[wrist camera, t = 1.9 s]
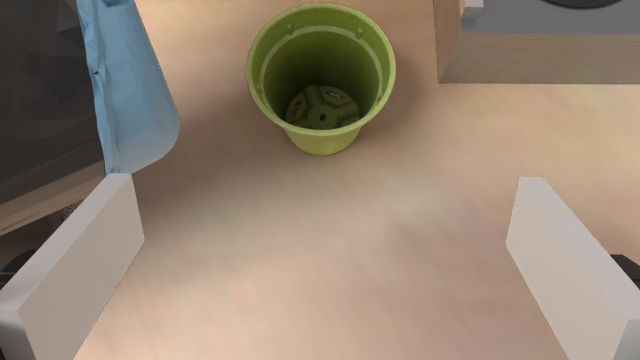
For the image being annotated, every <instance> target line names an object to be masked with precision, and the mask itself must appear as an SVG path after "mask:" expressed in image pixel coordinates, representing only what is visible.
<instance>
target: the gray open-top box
mask: <svg viewBox="0 0 640 360" xmlns="http://www.w3.org/2000/svg"><path fill="white" fill-rule="evenodd" d="M433 4H434V20H435V35H436V50H437V65H438V81H439V83H521V84H640V0H433Z"/></svg>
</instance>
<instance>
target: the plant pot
mask: <svg viewBox="0 0 640 360" xmlns="http://www.w3.org/2000/svg"><path fill="white" fill-rule="evenodd" d="M246 76H247V82H248V86H249V90H250V92H251V95H252V97H253V99H254V101H255V103H256V104H257V106H258V107H259V108H260V110H261V111H262V112H263V113H264V114H265V115H266V116H267V117H268V118H269V119H270V120H272V121H273V122H274V123H275V124H277V125H279V126H280V127H282V128H283V129H284V131H285V132H286V134H287V135H288V137H289V138H290V140H291V141H292V142H293V143H294V145H296V146H297V147H298V148H299V149H301V150H302V151H304V152H307V153H309V154H313V155H320V156H325V155H330V154H334V153H336V152H339V151H341V150H343V149H345V148H347V147H348V146H349V145H350V144H351V143H352V142H353V141H354V140H355V138H356V136H357V135H358V133H359V131H360V129H361V127H362V126H363V125H364V124H366V123H367V122H369V121H370V120H372V119H373V118H374V117H375V116H376V115H377V114H378V113H379V112H380V111H381V109H382V108H383V107H384V105H385V104H386V102H387V100H388V99H389V97H390V94H391V92H392V89H393V86H394V82H395V76H396V61H395V56H394V52H393V49H392V46H391V44H390V42H389V40H388V38H387V36H386V35H385V33H384V32H383V31H382V29H381V28H380V27H379V26H378V25H377V24H376V23H375V22H374V21H373V20H371V19H370V18H369V17H367V16H366V15H364V14H363V13H361V12H359V11H357V10H355V9H352V8H350V7H346V6H343V5H339V4H333V3H311V4H305V5H301V6H297V7H294V8H291V9H289V10H287V11H285V12H283V13H281V14H280V15H278V16H277V17H275V18H274V19H272V20H271V21H270V22H269V23H268V24H266V25H265V26H264V27H263V29H262V30H261V31H260V32H259V34H258V35H257V37H256V38H255V40H254V42H253V44H252V46H251V48H250V51H249V54H248V59H247V65H246ZM328 92H333V93H337V94H338V95H340V96H341V97H342V99H341V100H339V99H337V98H335V97H333V96H330V95H329V94H326V93H328ZM298 102H301V105H300V107H299V108H298V110H297V112H296V115H295V116H293V115H292V112H293V110H294V106H295V105H296V104H297V103H298ZM321 115H324V116H325V117H326V119H325V120H324V121H321V120H320V119H319V118H320V116H321ZM351 123H352V124H351Z"/></svg>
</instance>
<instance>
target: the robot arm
mask: <svg viewBox="0 0 640 360" xmlns="http://www.w3.org/2000/svg"><path fill="white" fill-rule="evenodd" d="M179 132H180V118H179V115H178V112H177V109H176V106H175V104H174V101H173V99H172V96H171V93H170V91H169V88H168V86H167V83H166V80H165V78H164V75H163V73H162V70H161V67H160V65H159V62H158V60H157V57H156V55H155V52H154V50H153V47H152V45H151V42H150V40H149V37H148V35H147V32H146V29H145V27H144V25H143V22H142V20H141V17H140V15H139V12H138V10H137V7H136V5H135V2H134V0H0V360H73V358H74V357H75V355H76V353H77V352H78V350H79V348H80V347H81V345H82V344H83V342H84V340H85V339H86V337H87V335H88V334H89V332H90V330H91V329H92V327H93V325H94V324H95V322H96V321H97V319H98V317H99V316H100V314H101V312H102V311H103V309H104V307H105V306H106V304H107V302H108V301H109V299H110V297H111V296H112V294H113V293H114V291H115V289H116V288H117V286H118V284H119V283H120V281H121V279H122V278H123V276H124V274H125V273H126V271H127V270H128V268H129V266H130V265H131V263H132V261H133V260H134V258H135V256H136V255H137V253H138V251H139V250H140V248H141V247H142V245H143V243H144V242H145V238H144V233H143V228H142V223H141V218H140V214H139V209H138V204H137V199H136V194H135V189H134V184H133V180H132V175H131V174H133V173H135V172H136V171H138V170H140V169H142V168H144V167H146V166H148V165H150V164H152V163H153V162H155V161H157V160H159V159H161V158H163V157H164V156H166V154H167V153H168V152H169V151H170V150H171V149H172V148H173V146H174V144H175V143H176V141H177V138H178V136H179ZM85 198H86V199H85ZM82 199H85V200H84V201H83V202H82V203H81V204H80V205H79V206H78V207H77V208H76V210H75V211H74V212H73V213H72V214H71V215H70V216H69V217H68V218H67V219H66V220H65V221H64V222H63V219H62V217H61V215H60V213H59V211H58V210H60V209H62V208H64V207H67V206H69V205H71V204H73V203H76V202H78V201H80V200H82ZM505 245H506V247H507V249H508V251H509V253H510V254H511V256H512V258H513V260H514V262H515V263H516V265H517V267H518V269H519V271H520V272H521V274H522V276H523V278H524V280H525V282H526V283H527V285H528V287H529V289H530V291H531V292H532V294H533V296H534V298H535V300H536V301H537V303H538V305H539V307H540V309H541V311H542V312H543V314H544V316H545V318H546V320H547V321H548V323H549V325H550V327H551V329H552V330H553V332H554V334H555V336H556V338H557V340H558V341H559V343H560V345H561V347H562V349H563V350H564V352H565V354H566V356H567V358H568V359H569V360H640V266H639V265H637V264H636V263H634V262H633V261H631V260H630V259H628V258H627V257H625V256H623V255H609V254H608V252H607V251H606V250H605V249H604V248H603V247H602V245H601V244H600V243H599V242H598V241H597V240H596V238H595V237H594V236H593V235H592V234H591V233H590V231H589V230H588V229H587V228H586V227H585V226H584V224H583V223H582V222H581V221H580V220H579V219H578V217H577V216H576V215H575V214H574V213H573V212H572V210H571V209H570V208H569V207H568V206H567V205H566V203H565V202H564V201H563V200H562V199H561V198H560V196H559V195H558V194H557V193H556V192H555V191H554V189H553V188H552V187H551V186H550V185H549V184H548V182H547V181H546V180H545V179H544V178H543V177H520V178H519V182H518V187H517V192H516V197H515V201H514V206H513V211H512V215H511V220H510V225H509V229H508V234H507V239H506V243H505Z"/></svg>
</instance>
